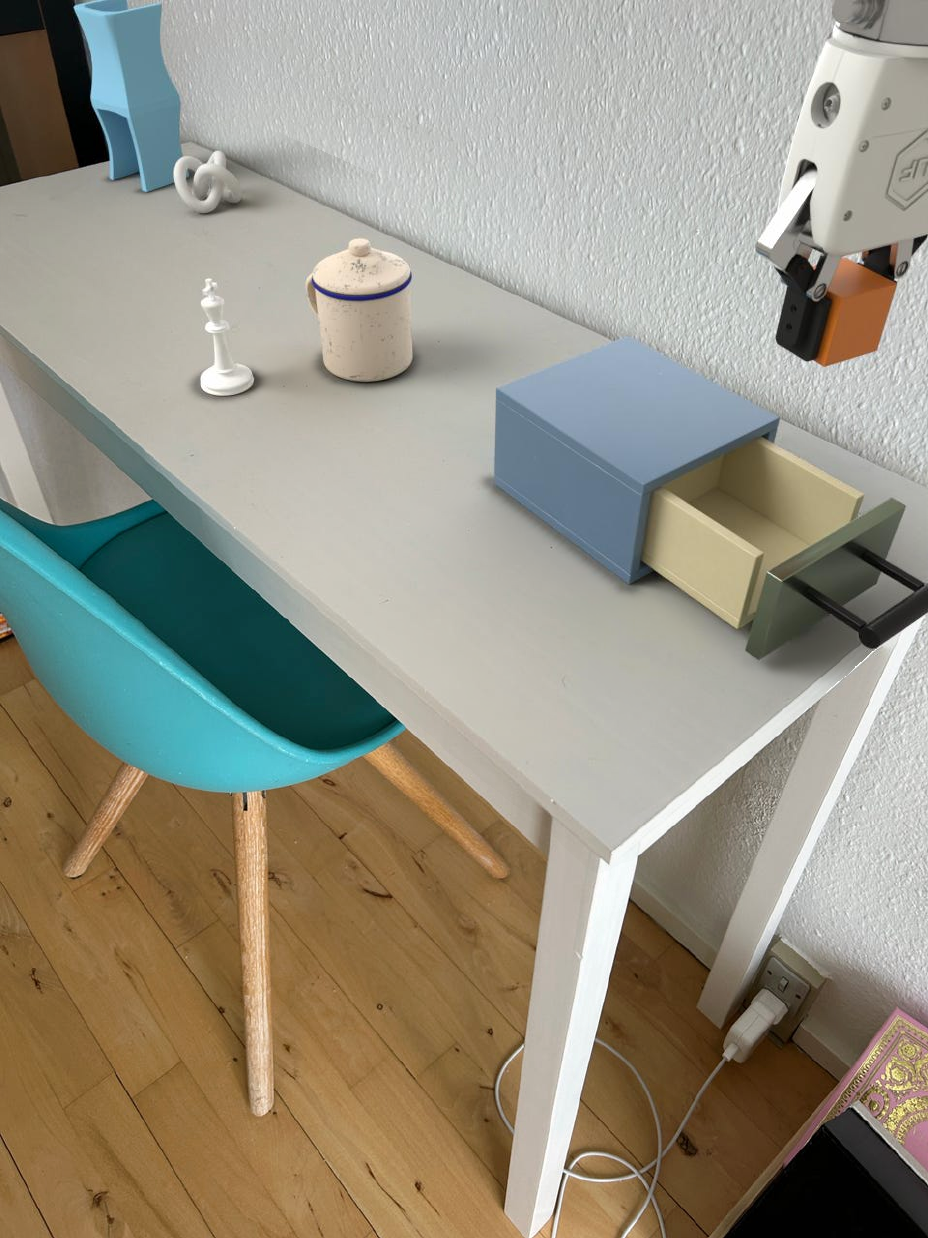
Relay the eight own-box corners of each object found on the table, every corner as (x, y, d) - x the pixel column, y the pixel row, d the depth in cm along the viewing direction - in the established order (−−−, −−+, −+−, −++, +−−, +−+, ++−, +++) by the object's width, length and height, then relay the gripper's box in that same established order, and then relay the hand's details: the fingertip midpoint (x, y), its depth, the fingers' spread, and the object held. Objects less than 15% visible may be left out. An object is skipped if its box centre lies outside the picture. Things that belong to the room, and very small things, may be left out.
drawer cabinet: (756, 514, 77) (780, 417, 70) (629, 585, 70) (644, 484, 64) (616, 428, 86) (627, 335, 80) (493, 483, 80) (495, 387, 74)
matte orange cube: (827, 322, 64) (845, 256, 61) (877, 351, 61) (898, 283, 58) (775, 337, 62) (790, 270, 59) (823, 367, 60) (842, 298, 57)
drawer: (949, 628, 66) (986, 549, 61) (831, 714, 60) (862, 634, 55) (720, 487, 78) (737, 411, 73) (604, 548, 72) (614, 470, 67)
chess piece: (190, 390, 91) (168, 286, 84) (219, 365, 94) (199, 264, 87) (236, 400, 89) (217, 295, 82) (263, 375, 93) (247, 272, 86)
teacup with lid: (434, 357, 95) (431, 238, 87) (370, 395, 90) (361, 272, 82) (345, 321, 101) (335, 206, 93) (280, 355, 95) (263, 236, 87)
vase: (194, 175, 132) (162, 3, 118) (146, 191, 127) (108, 15, 114) (157, 162, 135) (122, -6, 122) (109, 178, 131) (68, 5, 117)
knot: (258, 198, 126) (251, 150, 122) (225, 221, 120) (217, 171, 116) (207, 191, 128) (199, 143, 124) (173, 212, 122) (163, 163, 118)
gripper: (844, 44, 44) (761, 402, 56) (1093, 3, 50) (968, 337, 62) (736, 11, 49) (682, 347, 61) (974, -23, 55) (880, 291, 67)
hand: (827, 339), depth 62 cm, fingers closed on matte orange cube, 4 cm apart
